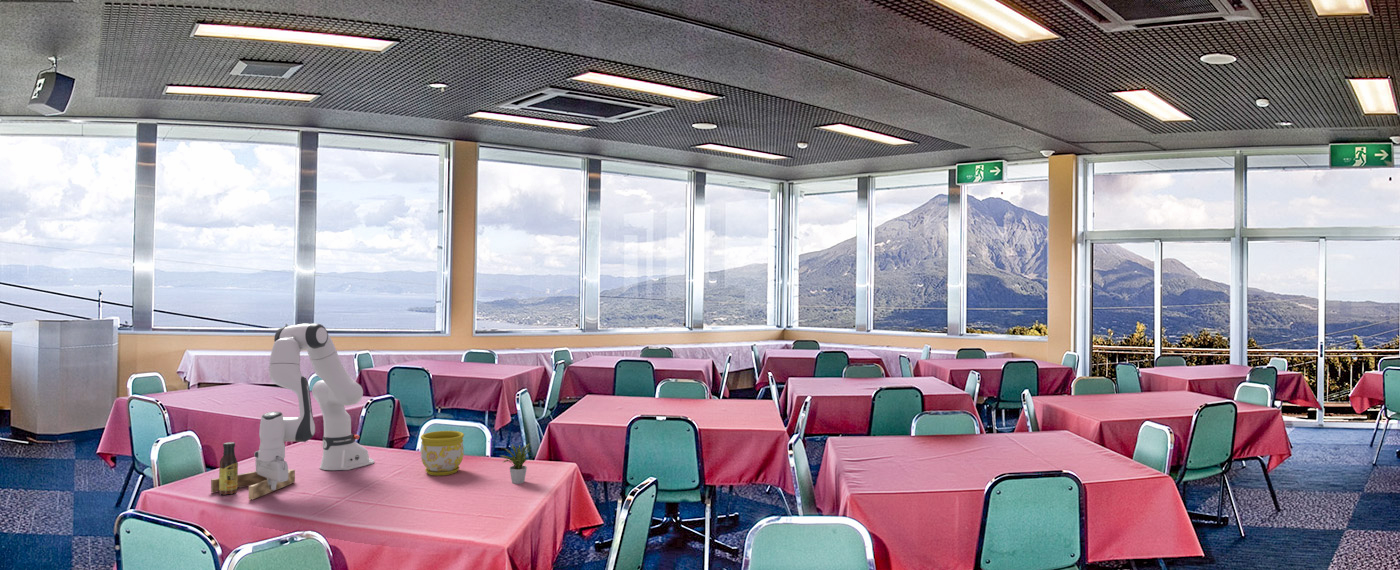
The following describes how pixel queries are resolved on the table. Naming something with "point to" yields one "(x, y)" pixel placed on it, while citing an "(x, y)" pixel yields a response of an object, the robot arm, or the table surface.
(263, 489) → the oak jaw
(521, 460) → the house plant
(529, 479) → the table surface
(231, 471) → the sauce bottle
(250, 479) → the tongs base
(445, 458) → the flowerpot
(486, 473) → the table surface
